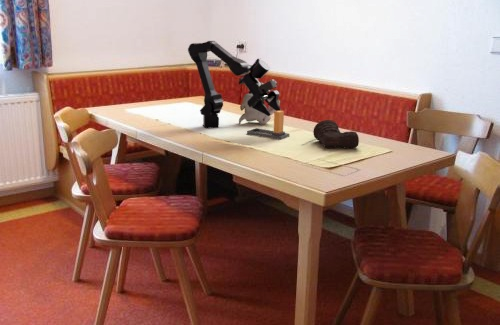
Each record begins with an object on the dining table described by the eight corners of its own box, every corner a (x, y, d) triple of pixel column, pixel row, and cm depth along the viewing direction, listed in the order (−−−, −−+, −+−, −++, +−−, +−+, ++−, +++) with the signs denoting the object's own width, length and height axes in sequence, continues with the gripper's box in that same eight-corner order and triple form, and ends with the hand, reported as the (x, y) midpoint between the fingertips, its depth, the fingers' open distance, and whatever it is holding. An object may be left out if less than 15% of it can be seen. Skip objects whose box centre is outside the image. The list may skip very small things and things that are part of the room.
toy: (237, 126, 232) (278, 127, 228) (236, 94, 228) (278, 95, 224) (241, 122, 240) (281, 124, 236) (240, 91, 236) (281, 92, 232)
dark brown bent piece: (360, 132, 191) (347, 118, 204) (324, 134, 189) (313, 120, 202) (358, 154, 195) (345, 139, 209) (322, 157, 193) (312, 141, 206)
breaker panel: (243, 136, 211) (243, 131, 210) (257, 131, 220) (257, 127, 220) (279, 142, 201) (279, 138, 201) (292, 137, 211) (292, 132, 211)
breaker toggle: (271, 136, 207) (272, 111, 204) (276, 134, 211) (277, 110, 208) (279, 138, 205) (280, 112, 202) (284, 136, 209) (285, 111, 206)
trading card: (344, 175, 160) (300, 164, 172) (343, 177, 160) (300, 165, 172) (360, 169, 168) (318, 158, 179) (360, 170, 168) (318, 159, 180)
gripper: (253, 75, 197) (276, 104, 194) (276, 71, 212) (297, 99, 209) (237, 92, 203) (259, 121, 200) (260, 88, 218) (281, 115, 215)
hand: (275, 113), depth 206 cm, fingers open, 9 cm apart
